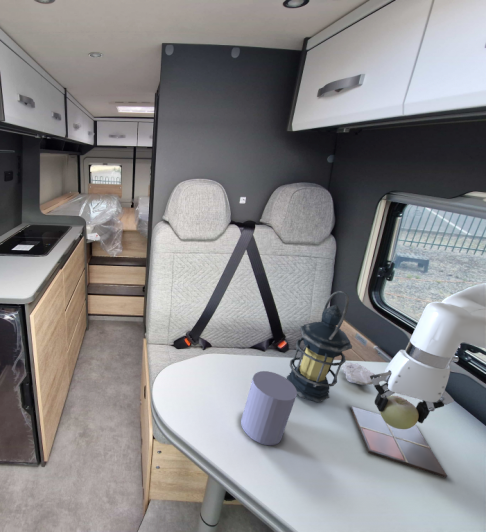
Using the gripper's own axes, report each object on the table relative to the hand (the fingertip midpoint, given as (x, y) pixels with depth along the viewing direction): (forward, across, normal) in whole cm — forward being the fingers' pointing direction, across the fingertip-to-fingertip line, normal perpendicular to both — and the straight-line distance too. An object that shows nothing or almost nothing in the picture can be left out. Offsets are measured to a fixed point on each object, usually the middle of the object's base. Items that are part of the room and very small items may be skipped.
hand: (397, 412), depth 77 cm
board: (+12, -4, -4) cm, 13 cm away
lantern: (+12, +16, -14) cm, 24 cm away
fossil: (+12, -2, -28) cm, 30 cm away
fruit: (+3, 0, 0) cm, 3 cm away
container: (+12, +30, +8) cm, 33 cm away
